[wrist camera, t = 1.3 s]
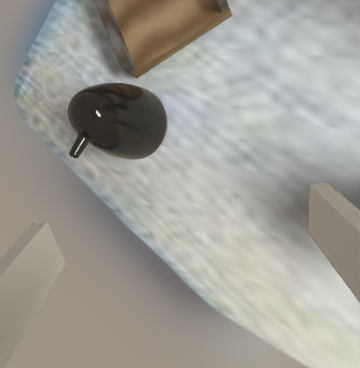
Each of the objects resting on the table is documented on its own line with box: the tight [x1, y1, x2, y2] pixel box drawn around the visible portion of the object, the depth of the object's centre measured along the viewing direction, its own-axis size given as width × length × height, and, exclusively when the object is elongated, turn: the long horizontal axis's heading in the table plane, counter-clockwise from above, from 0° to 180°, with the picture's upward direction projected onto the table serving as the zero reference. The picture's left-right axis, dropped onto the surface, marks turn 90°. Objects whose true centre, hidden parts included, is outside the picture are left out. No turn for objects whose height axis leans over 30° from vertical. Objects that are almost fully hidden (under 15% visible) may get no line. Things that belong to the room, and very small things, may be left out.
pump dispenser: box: [68, 83, 168, 159], centre depth 35 cm, size 10×10×15 cm
